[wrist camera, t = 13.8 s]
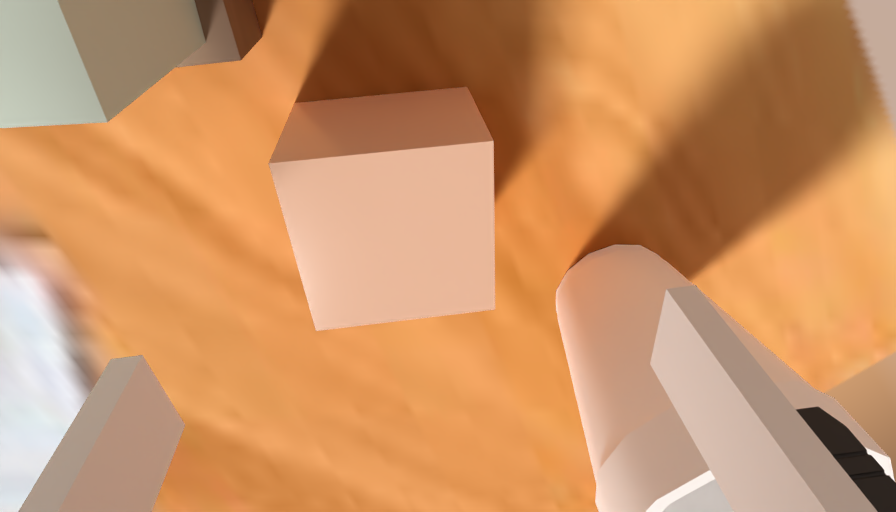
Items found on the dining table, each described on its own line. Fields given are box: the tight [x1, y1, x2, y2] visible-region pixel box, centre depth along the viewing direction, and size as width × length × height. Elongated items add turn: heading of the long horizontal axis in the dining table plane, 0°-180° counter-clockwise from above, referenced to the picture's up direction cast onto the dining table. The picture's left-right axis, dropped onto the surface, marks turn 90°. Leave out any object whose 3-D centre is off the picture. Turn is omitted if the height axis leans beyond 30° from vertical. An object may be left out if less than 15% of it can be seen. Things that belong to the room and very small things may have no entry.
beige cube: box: [269, 87, 495, 331], centre depth 20 cm, size 7×7×6 cm
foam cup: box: [556, 244, 895, 512], centre depth 23 cm, size 10×9×13 cm
